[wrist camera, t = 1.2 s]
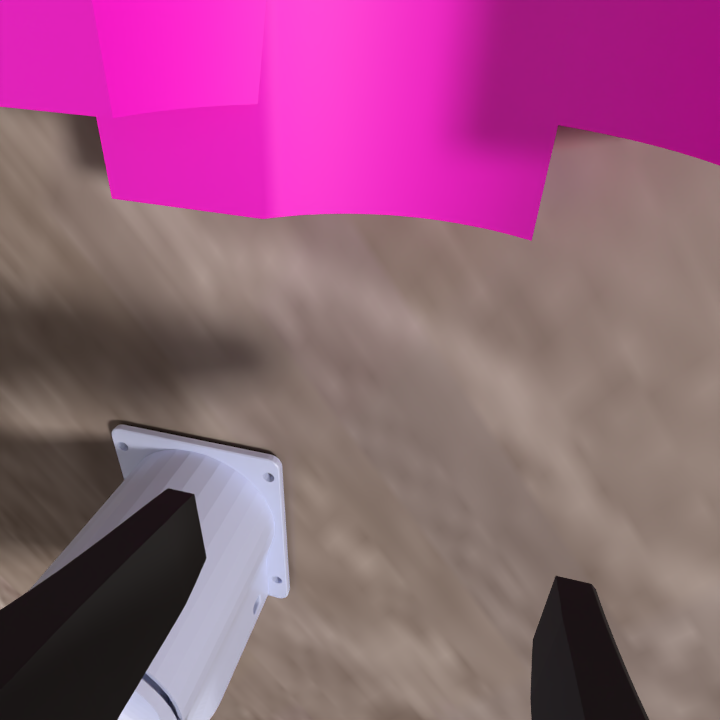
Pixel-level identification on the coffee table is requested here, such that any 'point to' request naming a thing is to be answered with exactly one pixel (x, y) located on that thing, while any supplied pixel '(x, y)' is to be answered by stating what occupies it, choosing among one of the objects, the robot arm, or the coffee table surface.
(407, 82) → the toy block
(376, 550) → the coffee table surface
